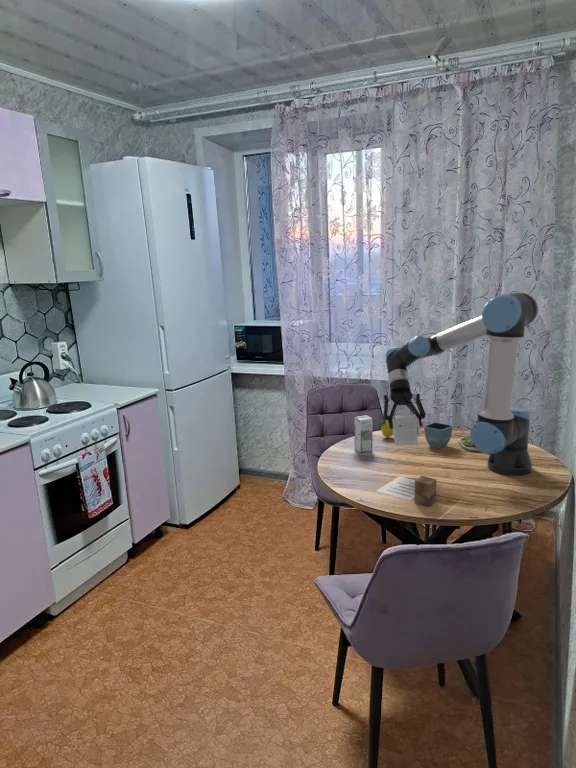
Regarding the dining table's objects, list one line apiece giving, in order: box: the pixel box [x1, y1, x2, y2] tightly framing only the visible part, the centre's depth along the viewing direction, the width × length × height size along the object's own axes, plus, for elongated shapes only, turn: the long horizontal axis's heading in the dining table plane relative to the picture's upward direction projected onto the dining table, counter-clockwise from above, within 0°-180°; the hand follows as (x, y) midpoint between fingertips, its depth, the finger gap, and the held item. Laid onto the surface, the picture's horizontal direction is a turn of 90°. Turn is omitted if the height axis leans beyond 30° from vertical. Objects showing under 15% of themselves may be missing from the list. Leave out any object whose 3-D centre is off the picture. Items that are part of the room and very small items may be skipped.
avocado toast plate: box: [458, 436, 483, 453], centre depth 213 cm, size 19×18×5 cm
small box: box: [393, 413, 419, 446], centre depth 188 cm, size 8×6×10 cm
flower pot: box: [423, 422, 454, 449], centre depth 215 cm, size 9×9×9 cm
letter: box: [376, 475, 416, 502], centre depth 176 cm, size 13×16×1 cm
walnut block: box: [414, 475, 437, 508], centre depth 163 cm, size 5×5×8 cm
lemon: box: [378, 417, 394, 439], centre depth 229 cm, size 7×6×10 cm
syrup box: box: [354, 414, 374, 454], centre depth 214 cm, size 6×6×14 cm
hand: (407, 435), depth 185 cm, fingers closed on small box, 8 cm apart
